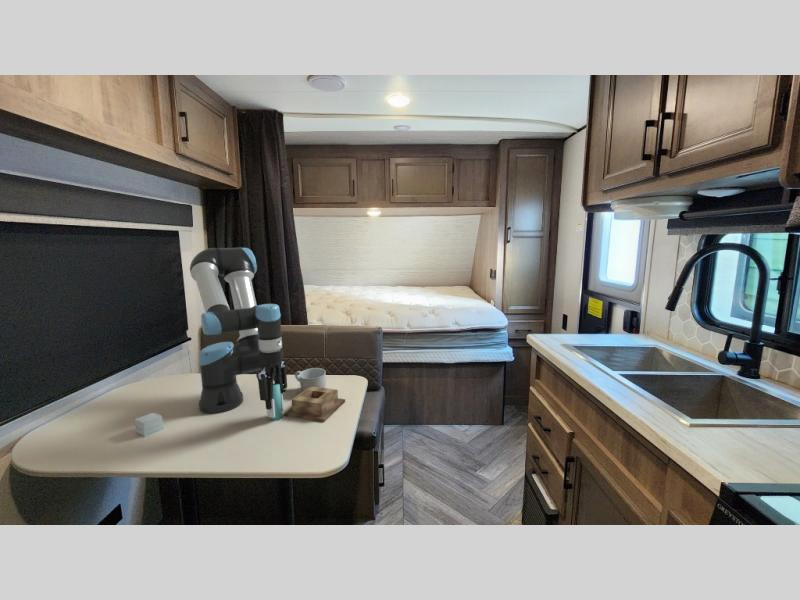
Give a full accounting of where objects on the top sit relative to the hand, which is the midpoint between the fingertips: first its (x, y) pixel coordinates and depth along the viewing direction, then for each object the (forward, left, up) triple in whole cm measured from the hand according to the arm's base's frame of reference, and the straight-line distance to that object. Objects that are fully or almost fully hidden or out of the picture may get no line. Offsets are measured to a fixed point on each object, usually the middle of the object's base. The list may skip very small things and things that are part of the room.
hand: (275, 413), depth 120 cm
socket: (+10, +10, -2) cm, 14 cm away
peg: (0, 0, -2) cm, 2 cm away
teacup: (-1, +24, -2) cm, 24 cm away
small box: (-35, -19, -2) cm, 40 cm away
